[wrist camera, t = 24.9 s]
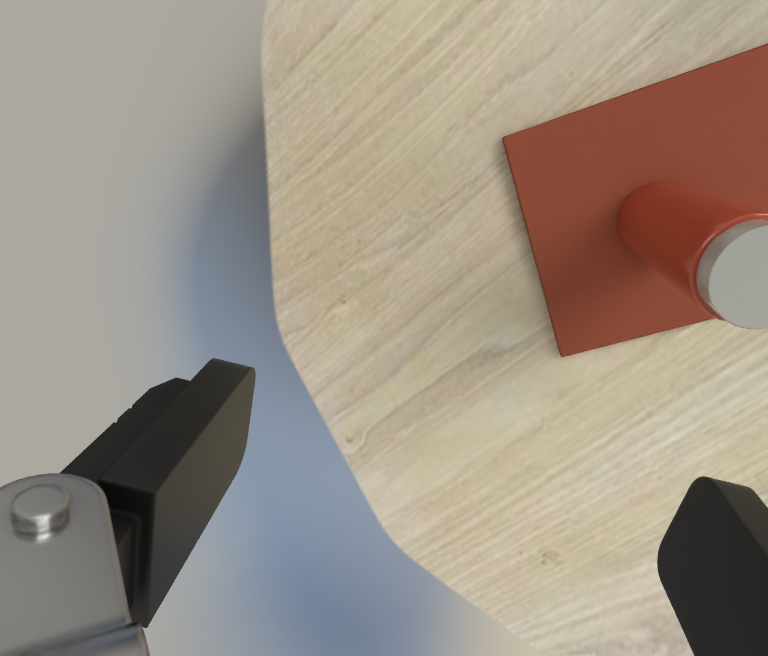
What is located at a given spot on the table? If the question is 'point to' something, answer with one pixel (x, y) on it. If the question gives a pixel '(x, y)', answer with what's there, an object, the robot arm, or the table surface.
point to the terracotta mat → (621, 178)
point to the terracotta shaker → (702, 248)
